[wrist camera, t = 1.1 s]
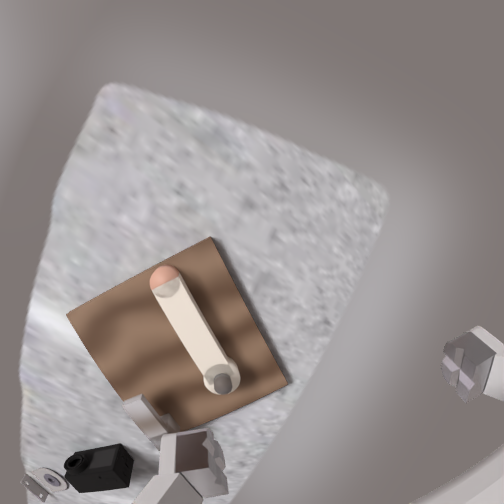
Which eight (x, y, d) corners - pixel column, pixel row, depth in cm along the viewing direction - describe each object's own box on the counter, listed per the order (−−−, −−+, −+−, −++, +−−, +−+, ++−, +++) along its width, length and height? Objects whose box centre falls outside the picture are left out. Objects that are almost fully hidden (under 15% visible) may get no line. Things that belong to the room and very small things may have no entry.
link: (243, 376, 41) (246, 385, 38) (213, 390, 40) (214, 399, 38) (176, 257, 38) (175, 260, 35) (143, 274, 37) (140, 278, 35)
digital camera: (117, 437, 41) (109, 465, 34) (134, 459, 42) (129, 487, 35) (70, 447, 40) (59, 472, 33) (88, 467, 41) (79, 493, 34)
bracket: (74, 484, 41) (69, 496, 38) (48, 492, 40) (43, 502, 37) (49, 463, 40) (44, 474, 36) (25, 472, 39) (20, 482, 36)
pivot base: (285, 379, 44) (297, 401, 38) (157, 435, 42) (153, 461, 36) (210, 236, 40) (212, 240, 34) (70, 311, 38) (51, 326, 32)
